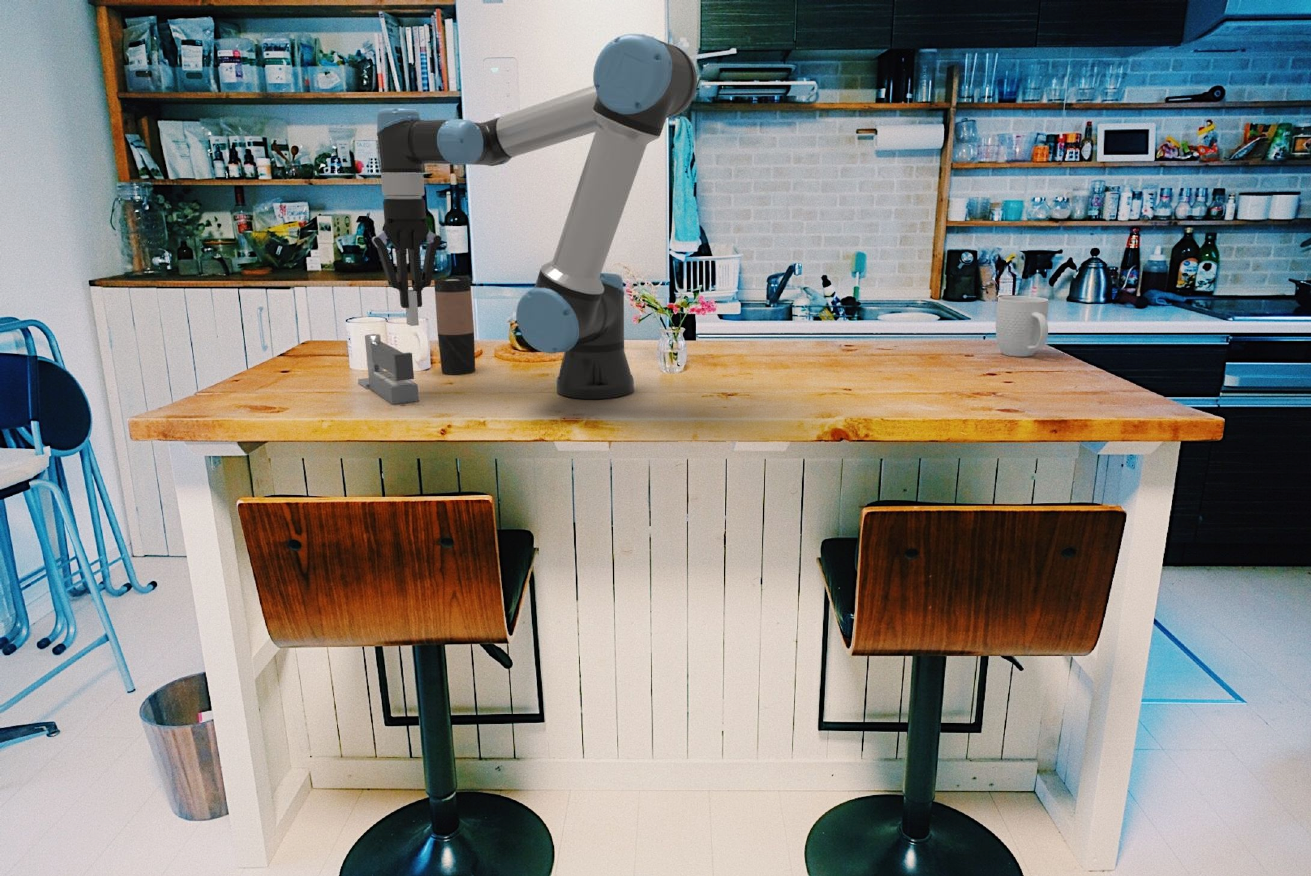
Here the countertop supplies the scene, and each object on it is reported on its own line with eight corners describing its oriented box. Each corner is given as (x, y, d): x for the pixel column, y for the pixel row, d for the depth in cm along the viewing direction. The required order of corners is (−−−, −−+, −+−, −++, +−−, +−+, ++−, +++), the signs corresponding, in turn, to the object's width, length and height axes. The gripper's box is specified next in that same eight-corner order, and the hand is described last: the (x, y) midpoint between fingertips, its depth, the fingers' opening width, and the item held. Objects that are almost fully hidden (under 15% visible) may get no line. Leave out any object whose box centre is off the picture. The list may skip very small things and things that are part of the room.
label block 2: (380, 396, 171) (378, 378, 170) (405, 392, 174) (404, 375, 173) (392, 404, 165) (390, 386, 164) (418, 401, 167) (417, 382, 166)
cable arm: (370, 364, 178) (367, 340, 176) (386, 362, 179) (383, 339, 178) (396, 381, 163) (394, 355, 162) (414, 378, 165) (411, 353, 163)
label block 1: (370, 389, 177) (368, 372, 176) (395, 386, 180) (393, 369, 179) (381, 397, 171) (380, 379, 170) (407, 393, 173) (405, 376, 172)
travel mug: (468, 376, 189) (461, 281, 183) (434, 374, 190) (427, 280, 184) (481, 368, 196) (476, 277, 190) (449, 367, 197) (443, 276, 192)
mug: (1063, 361, 201) (1071, 303, 197) (1020, 363, 198) (1027, 304, 195) (1023, 349, 215) (1029, 294, 211) (982, 351, 212) (988, 296, 209)
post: (358, 383, 182) (353, 334, 180) (387, 379, 186) (383, 332, 183) (366, 388, 178) (361, 339, 175) (396, 384, 181) (391, 336, 178)
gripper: (431, 196, 170) (439, 319, 177) (362, 197, 164) (373, 324, 170) (444, 198, 164) (452, 324, 171) (373, 198, 158) (384, 330, 164)
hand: (412, 324), depth 171 cm, fingers closed
